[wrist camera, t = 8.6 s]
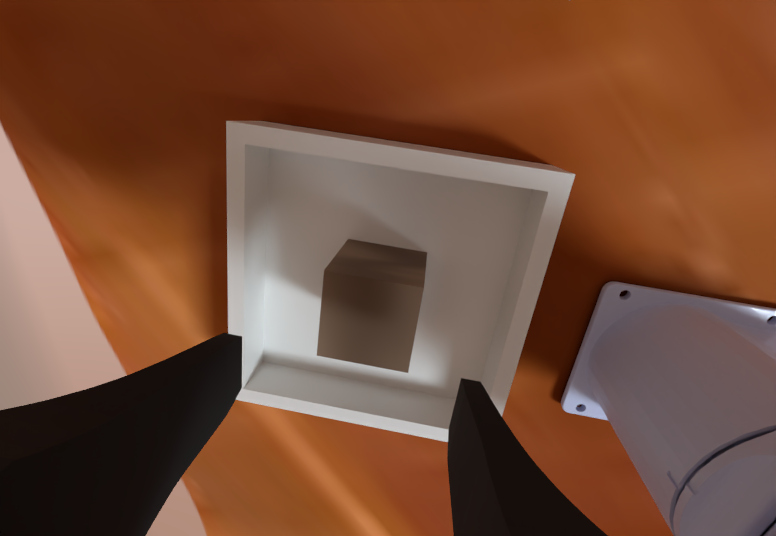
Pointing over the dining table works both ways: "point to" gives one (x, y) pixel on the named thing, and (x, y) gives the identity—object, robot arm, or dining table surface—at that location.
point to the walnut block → (371, 304)
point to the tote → (392, 228)
